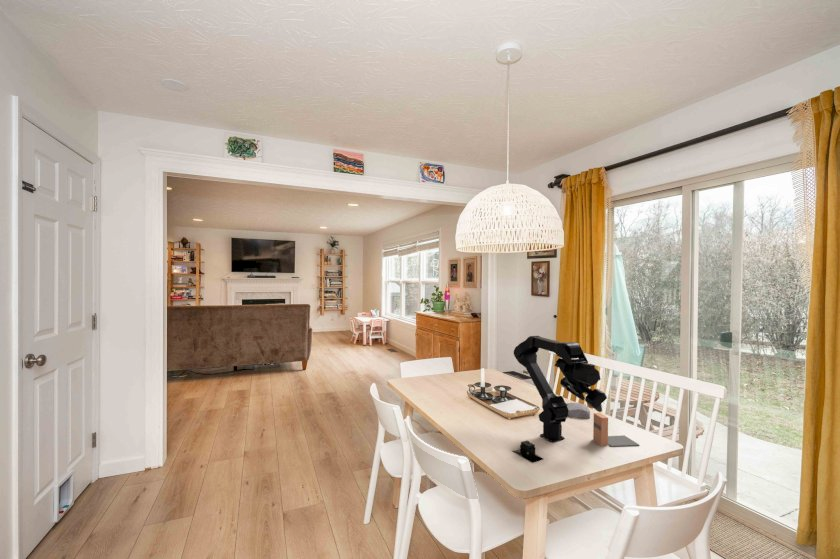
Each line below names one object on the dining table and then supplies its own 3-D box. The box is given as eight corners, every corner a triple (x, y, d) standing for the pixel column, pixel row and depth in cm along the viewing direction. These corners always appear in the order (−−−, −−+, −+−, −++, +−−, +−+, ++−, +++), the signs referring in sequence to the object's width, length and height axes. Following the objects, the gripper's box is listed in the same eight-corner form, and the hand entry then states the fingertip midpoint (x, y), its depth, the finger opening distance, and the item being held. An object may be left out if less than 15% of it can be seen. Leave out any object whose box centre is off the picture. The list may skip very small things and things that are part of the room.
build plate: (549, 462, 123) (549, 448, 123) (533, 467, 120) (533, 453, 120) (521, 447, 134) (521, 434, 134) (506, 451, 131) (506, 438, 131)
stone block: (568, 421, 163) (592, 419, 161) (566, 410, 163) (590, 408, 161) (563, 413, 174) (586, 410, 172) (561, 402, 175) (584, 400, 173)
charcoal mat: (611, 446, 134) (611, 445, 134) (597, 437, 142) (597, 436, 142) (639, 445, 136) (639, 444, 136) (624, 436, 143) (624, 435, 143)
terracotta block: (600, 445, 135) (600, 418, 135) (592, 439, 140) (592, 413, 140) (607, 445, 136) (608, 417, 136) (599, 439, 141) (599, 412, 141)
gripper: (608, 371, 127) (627, 403, 131) (573, 352, 145) (590, 381, 149) (584, 392, 125) (603, 423, 130) (551, 370, 143) (569, 399, 147)
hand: (591, 405), depth 139 cm, fingers open, 9 cm apart
